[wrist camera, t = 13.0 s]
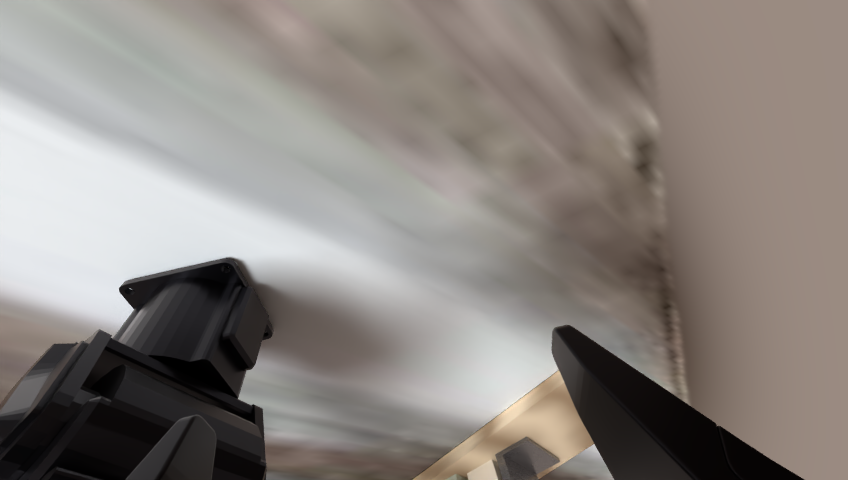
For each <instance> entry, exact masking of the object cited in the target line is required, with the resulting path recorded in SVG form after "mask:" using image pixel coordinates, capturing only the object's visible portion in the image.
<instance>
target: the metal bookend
mask: <svg viewBox="0 0 848 480" xmlns="http://www.w3.org/2000/svg"><path fill="white" fill-rule="evenodd" d="M495 456H496V459H497V463H498V466H499V469H500V472H501V475H502V479H503V480H539V479H538V477H537V474H539V473H540V472H542V471H544V470H546V469H548V468H550V467H552V466H553V465H555V464H557V463H559V462H560V460H559V458H558V457H556V456H555V455H553V454H552V453H550V452H549V451H547V450H546V449H545V448H543V447H542V446H540V445H539V444H537V443H536V442H534V441H533V440H531V439H530V438H528V437H527V436H526V437H525V438H523V439H521V440H519V441H518V442H516V443H514V444H512V445H511V446H509V447H507V448H505V449H504V450H502V451H500V452H498V453H497V454H495Z"/></svg>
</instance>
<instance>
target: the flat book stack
mask: <svg viewBox="0 0 848 480" xmlns="http://www.w3.org/2000/svg"><path fill="white" fill-rule="evenodd" d="M446 480H468V479H466V478H464V477H462V476H460V475H458V474H455V475H453V476H451V477H449V478H448V479H446Z"/></svg>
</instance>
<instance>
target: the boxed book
mask: <svg viewBox="0 0 848 480" xmlns="http://www.w3.org/2000/svg"><path fill="white" fill-rule="evenodd" d="M467 476H468V480H503V479H502V475H501V472H500V469H499V466H498V463H497V462H496V461H494V460H492V459H491V460H490V461H488V462H486V463H484V464H483V465H481V466H479V467H477V468H476V469H474V470H472V471H470V472H469V473H467Z"/></svg>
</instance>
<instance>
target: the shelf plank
mask: <svg viewBox="0 0 848 480" xmlns="http://www.w3.org/2000/svg"><path fill="white" fill-rule="evenodd" d="M526 436H527V437H528V438H530V439H531V440H533V441H534V442H536V443H537V444H539V445H540V446H542V447H543V448H545V449H546V450H547V451H549V452H550V453H552V454H553V455H555V456H556V457H558V458H559V460H560V462H559V463H557V464H555V465H553V466H552V467H550V468H548V469H546V470H544V471H542V472H540V473H539V474H537V477H538V479H540V478H541V477H543V476H544V475H546V474H547V473H549V472H551V471H552V470H554V469H555V468H557V467H558V466H560V465H562V464H563V463H565V462H566V461H568V460H569V459H571V458H573V457H574V456H576V455H577V454H579V453H580V452H582V451H583V450H585V449H587V448H588V447H590V446H591V445H593V444H594V442H593V440H592V439H591V437H590V435H589V433H588V432H587V430H586V428H585V426H584V424H583V422H582V421H581V419H580V417H579V415H578V413H577V410H576V408H575V406H574V404H573V401H572V399H571V397H570V394H569V392H568V390H567V388H566V385H565V383H564V381H563V378H562V376H561V374H560V371H557V372H556V373H554V374H553V375H552V376H550V377H549V378H548V379H546V380H545V381H544V382H542V383H541V384H540V385H538V386H537V387H536V388H534V389H533V390H532V391H530V392H529V393H528V394H526V395H525V396H524V397H522V398H521V399H520V400H518V401H517V402H516V403H514V404H513V405H512V406H510V407H509V408H508V409H506V410H505V411H504V412H502V413H501V414H500V415H498V416H497V417H496V418H494V419H493V420H492V421H490V422H489V423H488V424H486V425H485V426H484V427H482V428H481V429H480V430H478V431H477V432H476V433H474V434H473V435H472V436H470V437H469V438H468V439H466V440H465V441H464V442H462V443H461V444H460V445H458V446H457V447H455V448H454V449H453V450H451V451H450V452H449V453H447V454H446V455H445V456H443V457H442V458H441V459H439V460H438V461H437V462H435V463H434V464H433V465H431V466H430V467H429V468H427V469H426V470H425V471H423V472H422V473H421V474H419V475H418V476H417V477H415V478H414V479H413V480H446V479H448V478H449V477H451V476H453V475H455V474H458V475H460V476H462V477H464V478H466V479H468V476H467V473H469V472H470V471H472V470H474V469H476V468H477V467H479V466H481V465H483V464H484V463H486V462H488V461H490V460H491V459H492V460H494V461H496V462H497V459H496V456H495V454H497V453H498V452H500V451H502V450H504V449H505V448H507V447H509V446H511V445H512V444H514V443H516V442H518V441H519V440H521V439H523V438H525V437H526Z"/></svg>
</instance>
